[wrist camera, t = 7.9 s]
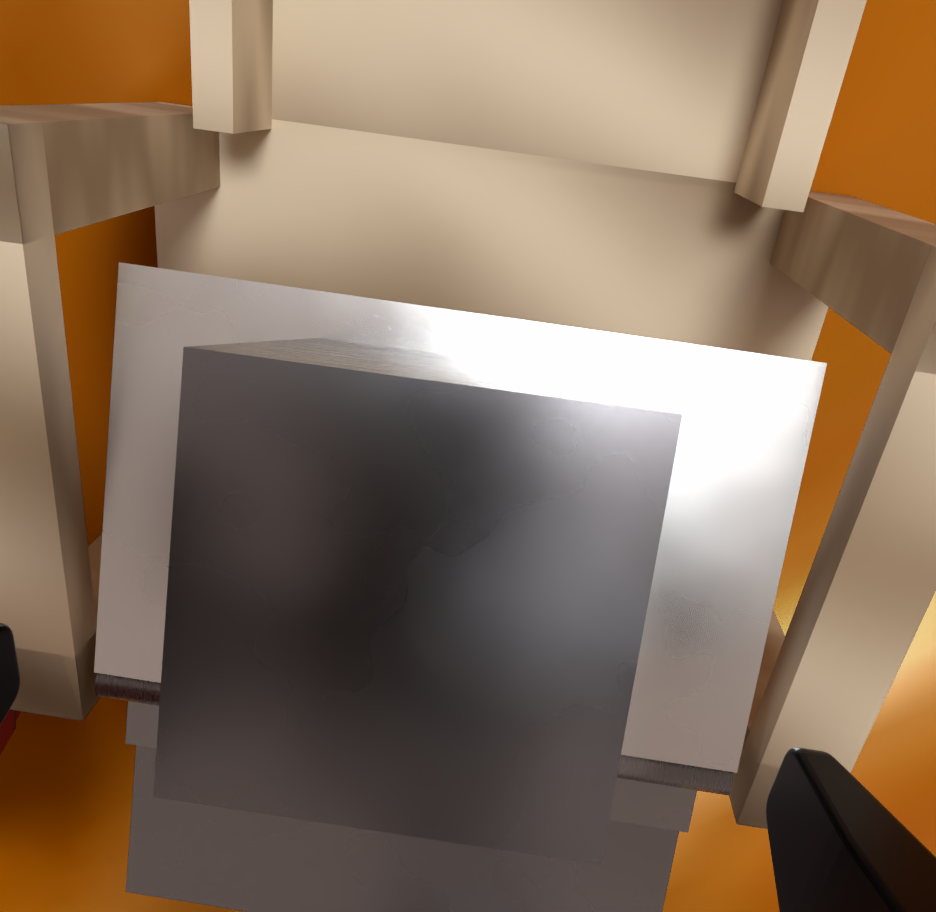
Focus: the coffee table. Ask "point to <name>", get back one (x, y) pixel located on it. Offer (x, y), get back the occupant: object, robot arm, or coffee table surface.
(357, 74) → the frame
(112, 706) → the coffee table surface
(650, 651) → the trapdoor
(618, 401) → the block
